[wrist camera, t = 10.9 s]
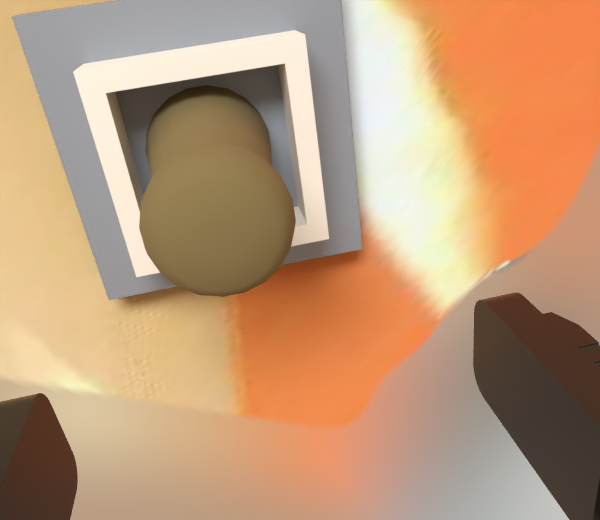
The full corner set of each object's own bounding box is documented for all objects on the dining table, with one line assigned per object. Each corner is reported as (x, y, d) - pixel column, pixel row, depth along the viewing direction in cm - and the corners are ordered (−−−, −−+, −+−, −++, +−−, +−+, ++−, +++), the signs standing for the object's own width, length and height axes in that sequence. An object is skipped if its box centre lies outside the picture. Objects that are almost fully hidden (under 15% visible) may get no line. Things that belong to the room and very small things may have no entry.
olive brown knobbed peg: (225, 228, 29) (245, 352, 19) (120, 165, 27) (82, 269, 17) (295, 134, 27) (354, 217, 18) (190, 57, 25) (192, 104, 15)
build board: (330, -32, 26) (352, -34, 22) (355, 238, 32) (375, 269, 29) (21, 14, 24) (-7, 19, 21) (112, 286, 31) (102, 325, 27)
